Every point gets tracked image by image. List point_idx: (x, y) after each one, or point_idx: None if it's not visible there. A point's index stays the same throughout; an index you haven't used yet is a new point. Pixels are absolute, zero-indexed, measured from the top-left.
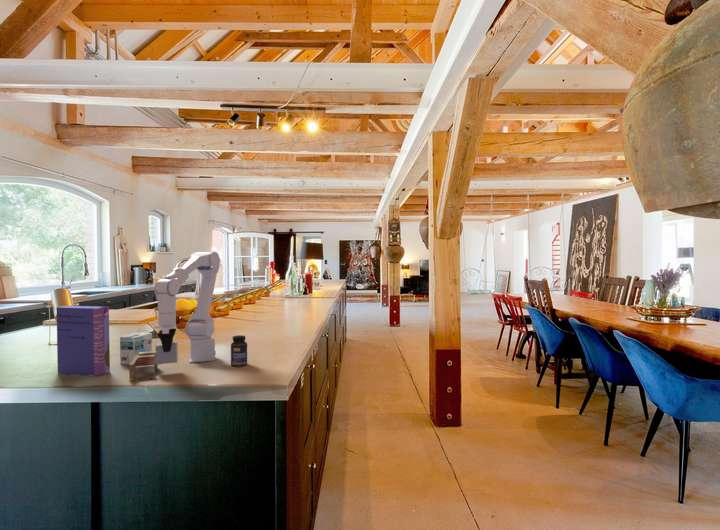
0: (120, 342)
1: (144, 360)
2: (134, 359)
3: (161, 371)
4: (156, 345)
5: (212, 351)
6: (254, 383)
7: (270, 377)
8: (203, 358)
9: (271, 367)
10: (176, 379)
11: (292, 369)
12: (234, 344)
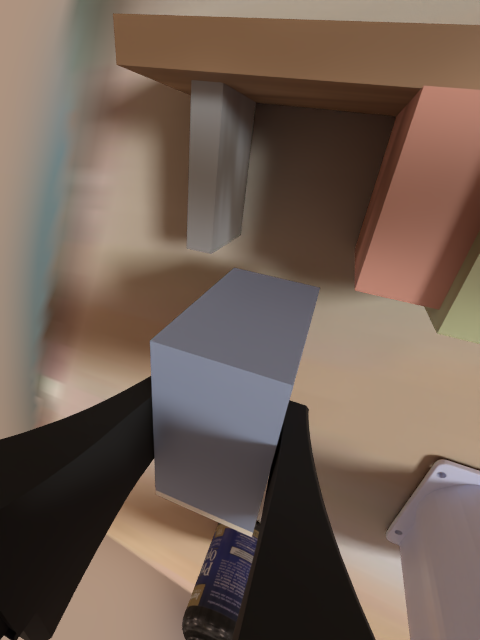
0: None
1: (387, 182)
2: (365, 49)
3: (340, 288)
4: (177, 354)
5: (409, 589)
6: None
7: None
8: (417, 522)
9: (173, 549)
10: (139, 318)
11: (137, 555)
12: (191, 627)
